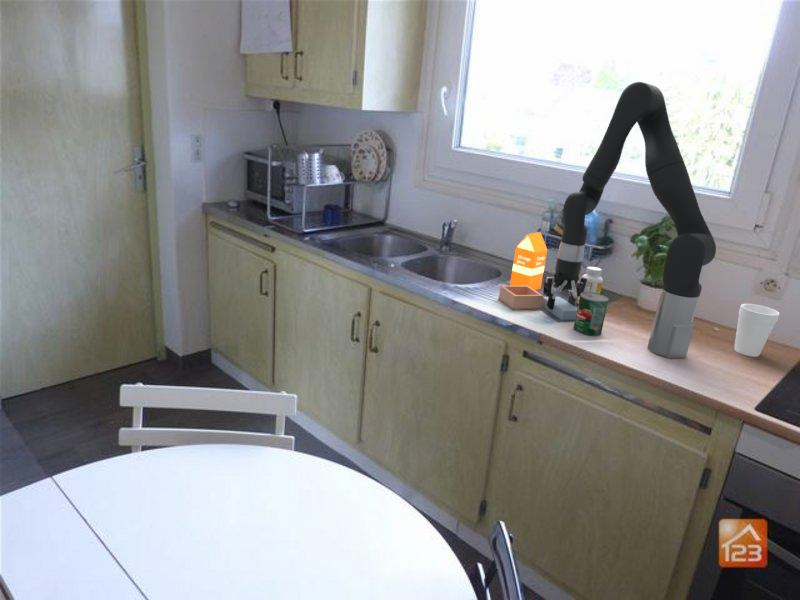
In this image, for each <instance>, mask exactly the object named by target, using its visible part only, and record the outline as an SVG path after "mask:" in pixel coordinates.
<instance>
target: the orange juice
mask: <svg viewBox="0 0 800 600" xmlns="http://www.w3.org/2000/svg"><path fill="white" fill-rule="evenodd" d="M547 254H548V248H547V246H546V242H545V240H544V237H543V235H542V233H541V231H539V232H538V231H537V232H531V233H528V234H527V235H526V236H525V237H524V238H523V239H522V240H521V241H520V242H519V243H518V245H516V247H515V252H514V257H513V264H512V269H511V275H510V283H509V286H529V287H531V288H532V289H534V290H535V291H538V290H541V287H542V282H543V276H544V272H545V267H546V259H547Z"/></svg>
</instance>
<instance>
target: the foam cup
mask: <svg viewBox="0 0 800 600" xmlns="http://www.w3.org/2000/svg"><path fill="white" fill-rule="evenodd" d="M779 316H780V312H779V311H778V310H777V309H774V308H771V307H768V306H765V305H761V304H755V303H742V304H740V306H739V310H738V320H737V326H736V334H735V338H734V339H735V341H734V346H733V347H734V351H735V352H737V353H738V354H741V355H743V356H746V357H747V356H748V357H751V358H752V357H754V358H757V357H759V356H760V355H761V352H763V351H762V350H763V349H764V346H765V345H766V343H767V340H768V339H769V336H770V335H771V333H772V330H773V329H774V327H775V324H777V323H778V321H779V318H780V317H779Z"/></svg>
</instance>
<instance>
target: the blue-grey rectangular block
mask: <svg viewBox="0 0 800 600" xmlns="http://www.w3.org/2000/svg"><path fill="white" fill-rule="evenodd" d="M547 302H548V296H543V300H542V305H541V306H542V307H543V308H545V309H546V310H548V311H549V312H551V313H552V314H554V315H555V316H557V317H558V318H559V319H561V320H575V319H576V314H577V309H578V306H574V305H572V304H570V303H569V302H568V300H565V299H564V298H562V297H561V296H556V297H555V304H554V308H553V310H550V309H549V308H548V307H547Z"/></svg>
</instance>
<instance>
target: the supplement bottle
mask: <svg viewBox="0 0 800 600" xmlns="http://www.w3.org/2000/svg"><path fill="white" fill-rule="evenodd" d="M602 271H603V270H602V268H599V267H597V266H587V267H586V273H584V274H583V275H581V276H582V277H584V278H586V279H587V282H586V286H585V289H584V292H593V293H598V294H601V291H602V286H603V282H604V280H603V277H602V276H601V274H602V273H603V272H602ZM579 299H580V296H579V297H577V304H579Z"/></svg>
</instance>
